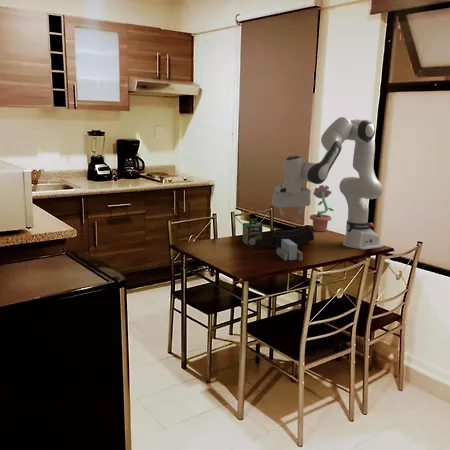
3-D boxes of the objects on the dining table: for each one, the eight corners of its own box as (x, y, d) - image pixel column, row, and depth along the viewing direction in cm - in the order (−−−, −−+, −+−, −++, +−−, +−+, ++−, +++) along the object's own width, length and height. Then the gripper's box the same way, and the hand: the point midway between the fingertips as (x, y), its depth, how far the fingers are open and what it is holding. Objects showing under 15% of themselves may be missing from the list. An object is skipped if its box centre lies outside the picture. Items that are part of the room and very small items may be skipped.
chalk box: (256, 240, 277) (257, 216, 274) (262, 244, 268) (263, 219, 265) (241, 241, 274) (242, 217, 271) (247, 245, 266) (248, 220, 262)
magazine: (266, 234, 256) (309, 214, 267) (263, 232, 259) (306, 213, 270) (272, 261, 262) (315, 241, 273) (269, 260, 265) (311, 240, 276)
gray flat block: (279, 253, 251) (279, 247, 251) (287, 260, 240) (287, 253, 239) (276, 253, 251) (276, 247, 250) (284, 260, 240) (284, 253, 239)
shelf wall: (290, 251, 255) (291, 244, 254) (302, 260, 240) (302, 253, 239) (288, 252, 255) (288, 244, 254) (299, 260, 240) (300, 253, 239)
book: (287, 253, 253) (288, 239, 251) (296, 259, 241) (297, 244, 240) (280, 253, 252) (281, 239, 250) (289, 260, 240) (290, 245, 239)
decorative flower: (331, 228, 312) (334, 183, 305) (333, 233, 298) (336, 186, 292) (308, 227, 314) (311, 182, 307) (309, 232, 300) (312, 185, 294)
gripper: (308, 186, 244) (306, 212, 247) (271, 187, 239) (270, 214, 242) (313, 188, 238) (311, 215, 241) (275, 189, 233) (274, 216, 236)
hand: (290, 214), depth 242 cm, fingers open, 8 cm apart
